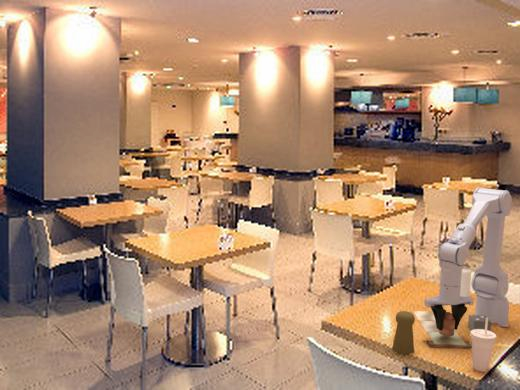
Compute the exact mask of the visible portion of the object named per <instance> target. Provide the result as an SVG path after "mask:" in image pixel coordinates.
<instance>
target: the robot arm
mask: <svg viewBox="0 0 520 390" xmlns="http://www.w3.org/2000/svg"><path fill="white" fill-rule="evenodd" d="M472 193H473V194H472V197H471V203H472V206H471V208H470V210H469V212H468V214H467V217H466V218H465V220H464V223H459V224H458V225H457V226H456V228H455V230H454V231H453V232H452V235H451V236H450V237H449V239H448V241H446V242H444V243H442V244H440V246H439V248H438V252H437V258H438V260H439V261H438V262H439V264H438V265H439V267H440V278H439V292H438V295H437V296H433V297H430V298H428V297H427V298H424V303H423V304H424V305H423V306H425V307H426V308H430V309H431V312H433V314H434V317H435V321H434V322H436V327H437V329H438V330H440V331H442V329H443V320H444V316H445V313H446V312H447V310H446V309H444V306H450V308H451V314H452V315H453V318H454V319H455V328H454V330H455V331H457V330H458V328H459V326H460V322H461V320H462V319H463V317H464V315H465V314H466V313H467V311H468V307H467V306H466V305H469V306H473V305H474V298H473V297H472V296H469V297H463V296H460V288H461V276H462V265H463V264H465V263H466V261H467V258H468V255H469V251H470V246H471V244H472V242H473V241H474V240H475V237H476V236H477V231H476V229H477V228H478V227H479V225H480V223H481V222H482V221H483V220H484V218H485V217H487V223H486V232H485V241H484V247H483V248H484V250H483V260H482V265H480V266H478V267H476V268H475V269H474V273H473V276H472V278H471V282H470V286H471V288H472V290H473V291H474V294H475V295H476V301H475V312H474V315H480V316H486V317H487V318H488V319H489V320H490V321H491V324H497V325H498V326H499V327H501V328H502V327H505V328H508V327H509V323H508V322H509V314H510V313H509V312H510V303H509V299H508V297H507V296H506V295H507V294H508V290H509V281H508V280H509V279H508V278H509V275H508V273H507V272H506V271H505V270H504V269H503V268H502V267H501V266H500V265H501V256H502V248H503V239H504V230H505V222H506V220H505V219H506V217H509V216H510V214H511V208H512V201H513V200H512V195H511V194H510V192H509V190H507V189H505V190H503V189H494V188H485V187H481V186H478V187H476V188H475V189H474V191H473V192H472Z"/></svg>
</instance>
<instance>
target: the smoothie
mask: <svg viewBox="0 0 520 390" xmlns="http://www.w3.org/2000/svg"><path fill="white" fill-rule="evenodd" d="M487 326H488V318H486V322H485V330H483V329H474V330H470V334H469V336H470V338H471V345H472V349H471V355H472V356H471V358H472V368H473V370H475V371H478V372H481V373H484V372H485V373H486V372H488V371H489V367H490V363H491V359H492V354H493V351H494V346H495V341H496V340H497V335H496V333H495V332H493V331H492V330H491V331H488V330H487Z"/></svg>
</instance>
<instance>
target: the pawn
mask: <svg viewBox="0 0 520 390" xmlns="http://www.w3.org/2000/svg"><path fill="white" fill-rule="evenodd" d="M454 328H455V319H454V318H453V315H452V312H449V311H446V313H445V316H444V320H443V329H442V331H440V330H439V333H440V334H441V335H444V336H453V335H454V333H455V332H454V330H455V329H454Z"/></svg>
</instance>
